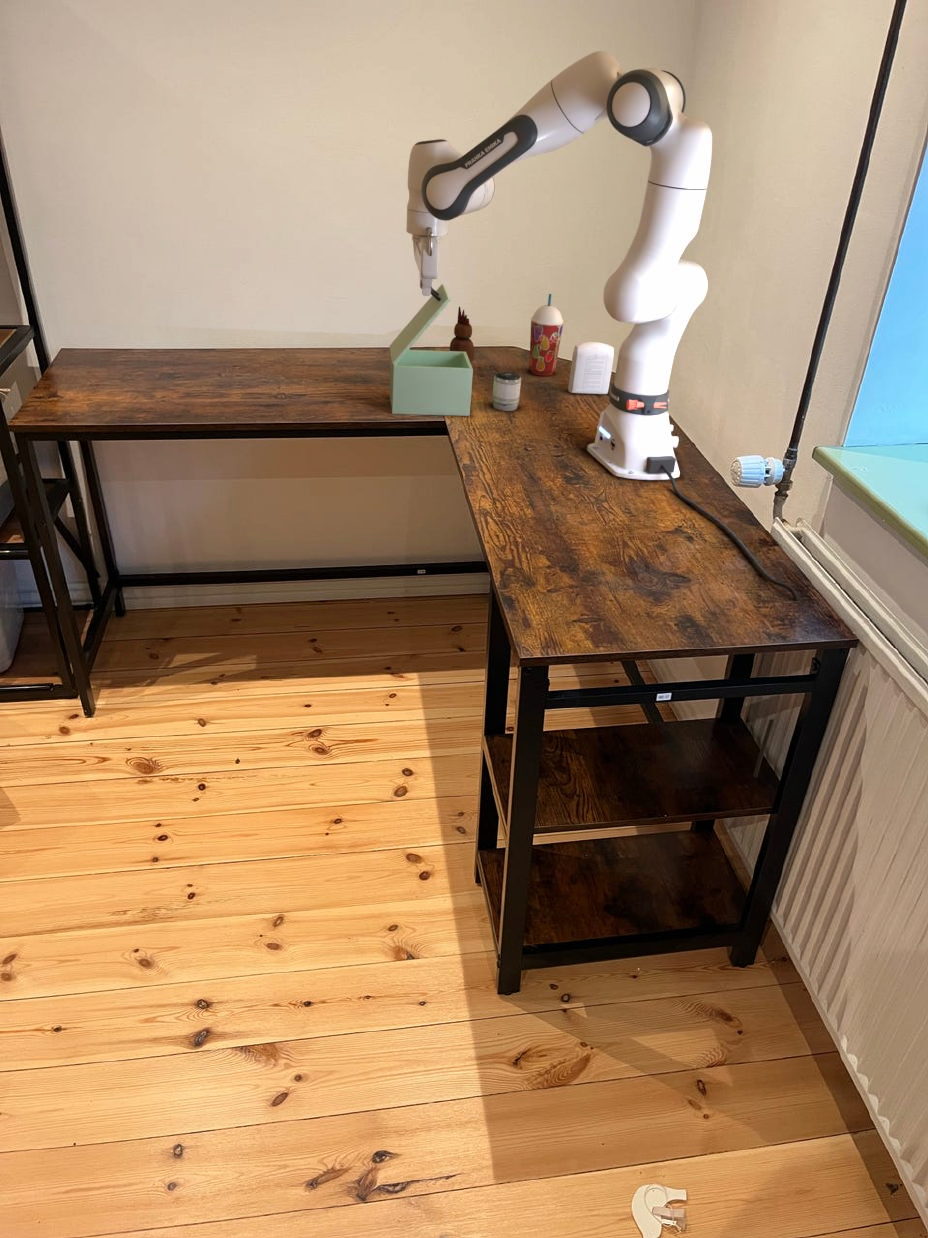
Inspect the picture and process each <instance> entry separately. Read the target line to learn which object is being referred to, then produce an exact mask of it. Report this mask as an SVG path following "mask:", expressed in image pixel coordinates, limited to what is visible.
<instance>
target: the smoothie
mask: <svg viewBox="0 0 928 1238" xmlns="http://www.w3.org/2000/svg"><path fill="white" fill-rule="evenodd" d="M551 303H552V293H549V294H548V299H547V304H544V305H541V306H539V307H538V308H537V309H536V310H535V312H534V313H533V315H532V317H530V338H529V339H530V340H529V360H528V361H529V362H528V363H529V364H528V365H529V368H530V372H531V373H532V375H535V376H540V377H549V376H551V375H553V373H554V371H555V370H556V368H557V362H558V356H559V351H560V350H559V349H560V345H561V339H562V333H563V330H564V329H563V328H564V323H565V320H564V319H563V316H562V313H561V311H560V310H559V309H558V308H557V307H556V306H554V305H552V304H551Z"/></svg>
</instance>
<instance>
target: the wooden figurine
mask: <svg viewBox="0 0 928 1238" xmlns="http://www.w3.org/2000/svg"><path fill="white" fill-rule="evenodd" d="M453 335H454V337H453V338H452V339H451V341H450V344H449V351H459V352H466V353H467V356H468V358H469V361H470V363H471V364H472V363H473V361H474V357H475V345H474V342H473V341H472V339H471V337H472V335H473V326H472V325H471V323H470V318H468V314H465V309H462V310H461V306H458V310H457V323H455V325H454V329H453Z"/></svg>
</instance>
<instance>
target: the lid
mask: <svg viewBox="0 0 928 1238" xmlns="http://www.w3.org/2000/svg"><path fill="white" fill-rule="evenodd" d="M429 297H430V298H429V299H428V300H426V302H425V303H424V304H423V306H422V307H421V308H420V309H419V310H418V311H417V312H416V313H415V315H414V316H413V317H412V318H411V319H410V321H409V322H408V323H407V325H406V326H404V328H403V329H402V330H401V332H400V333H399V334H398V335H397V336H396V337H395V339H393V341H392V342H391V343H390V345H389V352H391V358H392V363H393V364H394V365H396V364H397V363H398V362H399V360H400V359H401V358H402V357H403V356H404V355H405V353H406V352H407V351H408V350H411V349H412V347H413V345H414V344H415V343H416V342H417V341H418V340H419V338H420V337H421V336H422V335H423V334H424V333H425V331H427V329H428V328H429V327H430V326H431V324H433V322H434V321H435V320H436V319H437V318H438V316H439V315H440V314H441V313H442V312H443V310H444V309H445V308H446V306H448V305H449V303H450V302H451V301H452V300H451V297H450V295H449V293H448V290H447V288H446V286H445V285H444V284H443V283H441V284H440V286H438V288H437V289H436V290H435V289H434V288H433V286H432V285H431V295H430V296H429Z"/></svg>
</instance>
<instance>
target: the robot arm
mask: <svg viewBox="0 0 928 1238" xmlns="http://www.w3.org/2000/svg"><path fill="white" fill-rule="evenodd" d="M686 104H687V95H686V89H685V87H684V85H683V84H682V82H681V80H680V79H679V78H678V77H677V76H676V75H675V74H673V72H670V71H667V70H662V69H660V68H659V69H658V68H655V67H645V68H640V69H639V68H638V69H633V70H629V71H628V72H625V71H624V69H623V68H622V66H621V64H620V63H619V62H618V60H617V59H616V58H615V57H614V56H613V55H611V54H610V53H609V52H606V51H603V50H598V51H593V52H591V53H589V54H587V55H585V56H584V57H582V58H580V59H579V60H577V61H575V62H574V63H572V64H570V65H569V66H567V67H566V68H565V69H564V70H562V71H561V72H559V73H558V74H556V75H555V76H554V77H553V78H552V79H550V80H549V81H548V82H547V83H546V84H545V85H543V87H542V88H541V89H539V90H538V91H537V92H536V93H535V94H534V95H532V97H531V98H530V99H528V101H527V102H525V104H524V105H523V106H522V107H520V109H519V110H518V111H516V112H515V113H514V114H513V115H512V116H510V118H509V119H508V120H507V121H506V122H505V123H504V124H503V125H502V126H500V127H499V128H498V129H496V130H495V131H494V132H492V133H491V134H490V135H489V136H487V137H486V138H484V139H483V140H482V141H481V142H479V143H478V144H477V145H476V146H474V147H473V148H472V149H470V150H468V152H466V153H465V154H463V153H461V152H460V151H458V150H457V149H456V148H454V147H453V146H452V144H451V142H450V141H449V140H446V139H444V138H438V139H429V140H422V141H418V142H416V143H414V145H413V146H412V148H411V149H410V154H409V158H408V159H409V160H408V168H407V189H408V202H407V205H406V228H405V231H406V233H408V234H409V235H411V240H412V246H413V257H414V262H415V263H416V264H415V265H416V267H417V269H418V272H419V274H418V275H419V288H420V289H421V294H422V296H424V297H431V296H432V295H431V286H432V284H433V280H437V279H438V277H439V266H440V265H439V264H440V245H439V244H441V243H442V242H443V237H444V236H447V235H448V234H449V222H450V221H451V220H454V219H456V218H459V217H460V216H464V215H468V214H471V213H475V212H478V211H480V210H482V209H484V208H486V207H487V206H488V205H489V204H490V203H491V202H492V199H493V197H494V194H495V188H496V186H495V179H494V177H495V176H497V175H498V174H499V173H501V172H502V171H504V170H505V169H506V168H508V167H509V166H511V165H513V164H515V163H517V162H519V161H522V160H525V159H527V158H531V157H534V156H539V155H543V154H547V153H551V152H554V151H556V150H559V149H561V148H563V147H565V146H567V145H569V144H571V143H573V142H574V141H576V140H577V139H579V138H580V137H581V136H583V135H584V134H585V133H586V132H588V131H589V130H590V129H592V128H593V127H594V126H596V124H598V123H599V122H601V121H602V120H604V119H605V120H606V119H607V118H608V120H609V122H610V124H611V126H612V127H613V128H614V129H615V130H616V131H617V132H618V133H619V134H621V136H624V137H625V138H628V139H630V140H632V141H634V142H636V143H637V144H639V145H641V146H643V147H646V148H647V147H649V149H650V158H651V159H650V165H649V170H648V176H647V181H646V187H645V193H644V197H643V203H642V207H641V212H640V217H639V221H638V225H637V228H636V231H635V234H634V236H633V239H632V241H631V243H630V245H629V248H628V249H627V251H626V254H625V256H624V258H623V260H622V261H621V263H620V264H619V266H618V267H617V268H616V270H615V271H614V272H612V274H611V275H610V276H609V277H608V278H607V280H606V282H605V284H604V288H603V294H602V298H603V299H602V300H603V304H604V308H605V311H606V312H607V313H608V315H609V316H610V317H611V318H612V319H613V320H615V321H616V322H620V323H627V324H634V325H633V327H632V328H631V331H630V333H629V334H628V335H627V336H626V337H625V339H624V340H623V341H622V343H620V346H619V349H618V354H617V361H616V368H615V375H614V381H613V382H612V384H611V387H610V388H609V398H608V400H609V403H608V405H607V406H606V407H605V409H603V410H602V411H601V412H600V413H599V418H598V423H597V428H596V434H595V439H594V442H593V443H589V444H588V445H587V447H586V451H587V452H588V453H589V454H590V455H591V456H592V457H593V458H594V459H595V460H597V461H598V463H600V464H601V465H602V466H603V467H604V468H605V469H606V470H608V471H609V472H610V473H611V474H612V475H613V476H615V477H618V478H624V479H631V480H640V481H665V480H666V481H667V480H669V481H670V483H671V486H672V489H673V491H674V492H675V494H676V495H677V496H678V497H679V498H680V499H681V500H682V501H684V502H686V503H687V504H689V505H691V506H693V507H694V508H695V509H696V510H698V511H699V512H701V513H702V514H703V515H705V516H706V517H708V518H709V519H711V521H713V522H714V523H715V524H717V525H718V526H719V527H720V528H721V529H723V531H725V532H726V533H727V534H728V535H729V536H730V538H732V539H733V540H734V541H735V542H736V543H737V545H738V546H739V547H740V548H741V550H742V551H743V552H744V553H745V555H746V556H747V557H748V558H749V560H750V561H751V562H752V564H753V565H754V566H755V567H756V569H757V570H758V571H759V572H760V574H761V575H762V576H763V577H764V578H765V579H766V580H767V581H769V582H770V583H771V584H773V585H775V586H778V587H781V588H783V589H786V590H787V591H788V592H789V593H790V594H791V596H792V599H793V600H794V601H795V602H799V601H800V599H799V596H798V593H797V591H796V590H795V588H793V586H791V585H790V584H788V583H786V582H782V581H781V580H780V581H779V580H778V579H775V578H774V577H772V576H771V575H770V574H768V572H767V571H766V570H765V569H764V568H763V566H762V565H761V563H760V562H759V561H758V560H757V559H756V557H755V556H754V555H753V554H752V553H751V551H750V550H749V549H748V547H747V546H746V545H745V544H744V542H743V541H742V540H740V538H739V537H738V536H737V535H736V533H734V532H733V530H731V529H730V528H729V527H728V526H727V525H726V524H725V523H724V522H722V521H721V520H720V519H719V518H718V517H716V516H715V515H713V514H712V513H710V512H709V511H707V510H706V509H705V508H703V507H702V506H700V505H699V504H697V503H696V502H695V501H693V500H691V499H690V498H688V497H686V496H685V495H684V494H683V493H682V492H681V491H680V490H679V489H678V487H677V484H676V481H675V479H677V478H680V475H681V472H680V471H681V470H680V468H679V464H678V461H677V457H676V454H675V451H674V448H675V449H676V448H678V445H679V436H676V435H672V432H673V431H674V425H673V424H670V423H671V422H670V414H669V412H668V410H669V403H670V390H669V383H670V379H671V373H672V368H673V365H674V359H675V356H676V351H677V349H678V346H679V343H680V341H681V339H682V336H683V334H684V332H685V330H686V327H687V325H688V323H689V321H690V319H691V317H692V316H693V314H694V313H695V311H696V309H697V308H698V307H699V306H700V305H701V304H702V303H703V301H704V300H705V298H706V296H707V294H708V288H709V282H708V277H707V273H706V271H705V270H704V269H703V267H702V266H701V265H700V264H698V263H697V262H695V261H692V260H689V259H684V258H681V257H682V255H683V253H684V252H685V249H686V248H687V246H688V245H689V244H690V242H691V241H692V240H693V239H694V238H695V236H696V235H697V233H698V231H699V228H700V224H701V219H702V214H703V210H704V205H705V200H706V195H707V189H708V186H709V185H708V184H709V180H710V175H711V174H710V173H711V167H712V157H713V133H712V129H711V128H710V126H709V125H708V124H707V123H706V122H705V121H703V120H701V119H700V118H697V117H694V116H688V115H686V114H684V112H685V109H686ZM774 722H775V718H769V720H768V724H767V727H766V730H765V734H764V736H763V740H762V743H761V746H760V750H759V753H758V757H757V760H756V764H755V767H754V772H753V774H752V775H753V778H758V775H759V773H760V768H761V764H762V760H763V757H764V754H765V751H766V747H767V745H768V741H769V737H770V735H771V731H772V728H773V726H774Z"/></svg>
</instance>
